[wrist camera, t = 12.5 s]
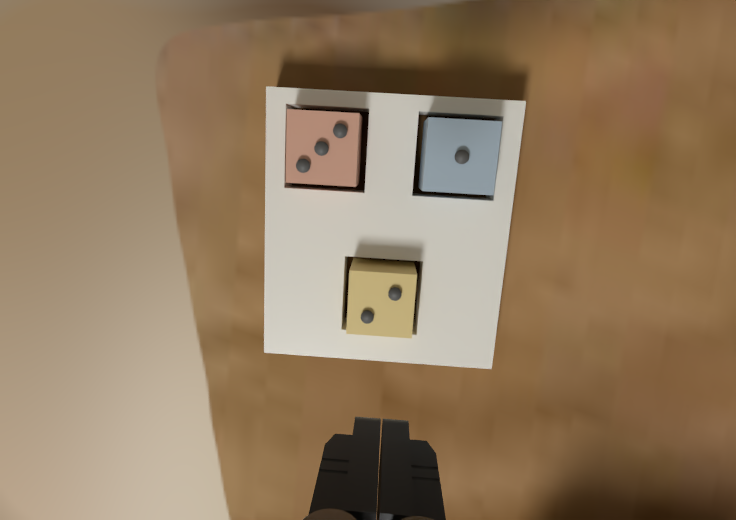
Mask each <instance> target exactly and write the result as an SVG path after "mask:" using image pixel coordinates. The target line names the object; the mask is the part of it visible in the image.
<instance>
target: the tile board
mask: <svg viewBox="0 0 736 520" xmlns="http://www.w3.org/2000/svg"><path fill="white" fill-rule="evenodd" d="M525 106H526V101H516V100H498V99H480V98H462V97H445V96H427V95H409V94H391V93H374V92H356V91H338V90H320V89H302V88H285V87H267V86H266V176H265V295H264V353H277V354H291V355H305V356H318V357H332V358H346V359H360V360H373V361H387V362H401V363H415V364H429V365H442V366H456V367H470V368H484V369H492V361H493V354H494V346H495V338H496V330H497V323H498V315H499V307H500V299H501V292H502V284H503V276H504V268H505V261H506V253H507V245H508V237H509V230H510V222H511V214H512V206H513V199H514V191H515V183H516V175H517V168H518V160H519V152H520V144H521V137H522V129H523V121H524V113H525ZM293 108H308V109H325V110H343V111H360V112H369V122H368V140H367V157H366V175H365V190H353V189H337V188H321V187H305V186H292V183H286V131H287V109H293ZM419 115H430V116H447V117H465V118H482V119H495V121H502V129H501V137H500V146H499V154H498V163H497V171H496V179H495V188H494V195H486V198H481V197H465V196H449V195H433V194H417V193H412V192H413V179H414V167H415V154H416V142H417V129H418V117H419ZM348 256H349V257H364V258H379V259H394V260H409V261H420V266H419V278H418V290H417V301H416V313H415V323H413V329H412V338H398V337H384V336H370V335H355V334H346V327H347V318H345V298H346V278H347V258H348Z"/></svg>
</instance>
